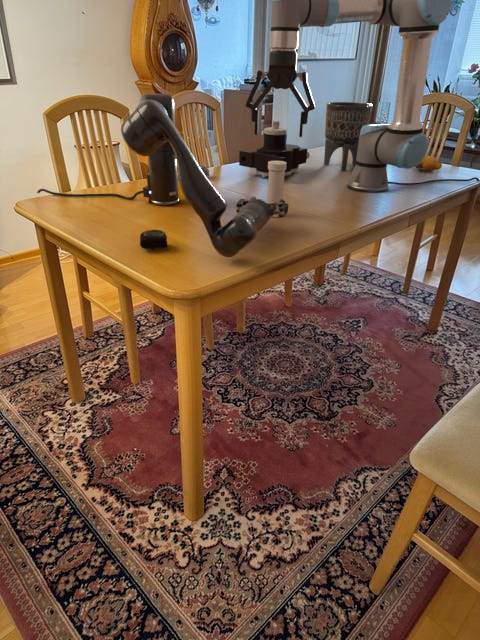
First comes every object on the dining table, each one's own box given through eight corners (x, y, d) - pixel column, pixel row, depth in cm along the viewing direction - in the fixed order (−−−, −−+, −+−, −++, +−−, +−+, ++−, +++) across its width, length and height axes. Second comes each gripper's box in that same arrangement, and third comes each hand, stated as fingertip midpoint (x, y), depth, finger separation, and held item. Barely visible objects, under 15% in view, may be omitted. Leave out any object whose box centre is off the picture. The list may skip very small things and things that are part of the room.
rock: (201, 173, 191) (201, 157, 188) (214, 178, 186) (214, 161, 182) (175, 178, 184) (174, 161, 180) (187, 183, 178) (186, 166, 175)
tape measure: (140, 252, 115) (139, 238, 113) (141, 242, 120) (140, 229, 119) (167, 251, 116) (166, 237, 114) (167, 241, 121) (166, 228, 120)
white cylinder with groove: (267, 166, 140) (267, 160, 139) (285, 167, 140) (285, 160, 139) (268, 170, 135) (268, 164, 134) (286, 171, 135) (287, 164, 134)
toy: (415, 164, 201) (409, 156, 214) (418, 178, 204) (412, 170, 217) (442, 156, 198) (434, 149, 211) (444, 170, 201) (436, 162, 214)
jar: (266, 212, 147) (269, 162, 139) (281, 212, 147) (284, 162, 139) (266, 216, 143) (269, 165, 135) (282, 217, 143) (285, 165, 135)
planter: (313, 167, 208) (319, 103, 195) (331, 160, 222) (338, 101, 209) (353, 173, 199) (362, 107, 185) (369, 166, 213) (379, 104, 199)
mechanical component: (240, 120, 182) (283, 115, 202) (239, 174, 192) (280, 164, 212) (283, 126, 170) (325, 120, 190) (280, 183, 180) (320, 171, 200)
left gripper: (279, 205, 118) (292, 190, 131) (228, 200, 121) (245, 186, 135) (278, 233, 122) (290, 216, 135) (227, 227, 125) (245, 211, 138)
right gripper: (329, 51, 124) (321, 135, 134) (241, 49, 127) (240, 131, 138) (329, 51, 117) (320, 139, 128) (236, 49, 121) (235, 134, 132)
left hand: (268, 201), depth 135 cm, fingers open, 8 cm apart
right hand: (278, 135), depth 133 cm, fingers open, 12 cm apart
